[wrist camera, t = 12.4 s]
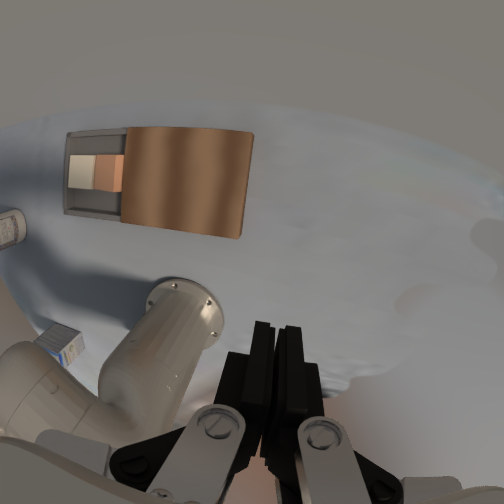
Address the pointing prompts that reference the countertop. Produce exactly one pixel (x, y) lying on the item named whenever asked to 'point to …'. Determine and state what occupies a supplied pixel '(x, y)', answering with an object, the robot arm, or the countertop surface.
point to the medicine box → (61, 343)
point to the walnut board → (186, 179)
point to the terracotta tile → (109, 172)
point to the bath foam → (11, 228)
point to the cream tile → (82, 171)
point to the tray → (93, 200)
